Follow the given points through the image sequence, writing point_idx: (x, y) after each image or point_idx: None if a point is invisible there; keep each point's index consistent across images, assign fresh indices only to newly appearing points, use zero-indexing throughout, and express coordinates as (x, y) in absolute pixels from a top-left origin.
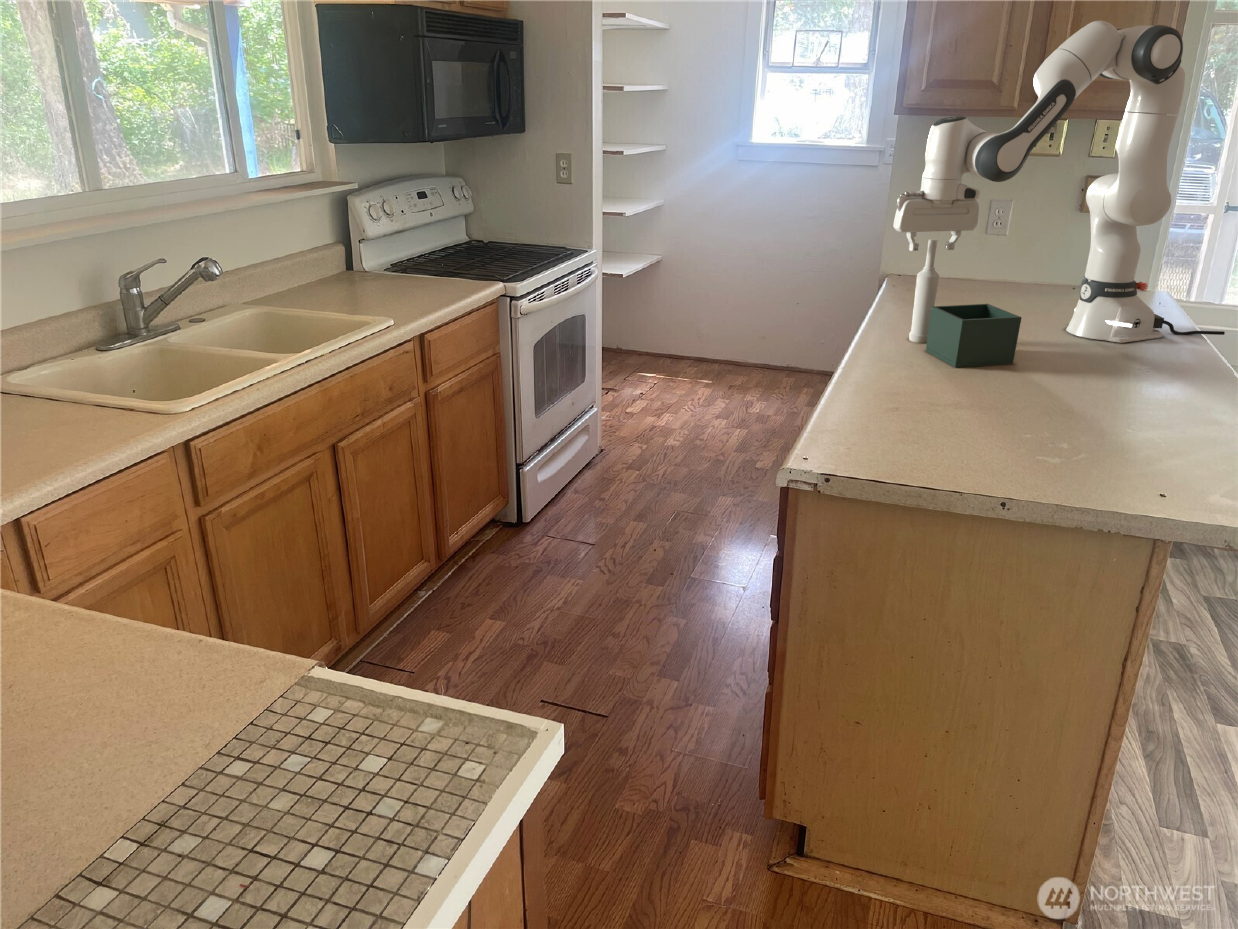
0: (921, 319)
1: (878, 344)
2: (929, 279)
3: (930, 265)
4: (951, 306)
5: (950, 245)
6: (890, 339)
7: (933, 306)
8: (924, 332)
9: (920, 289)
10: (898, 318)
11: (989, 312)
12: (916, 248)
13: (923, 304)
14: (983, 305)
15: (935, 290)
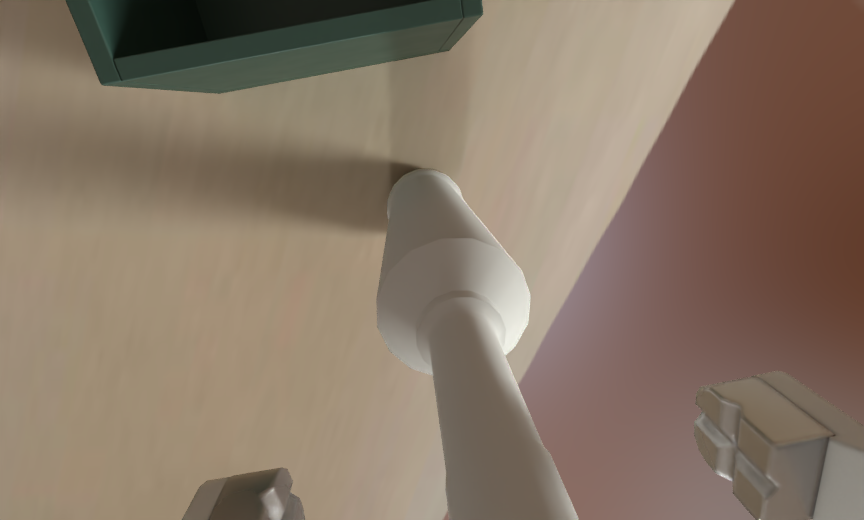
0: (447, 188)
1: (586, 153)
2: (468, 231)
3: (471, 320)
4: (357, 14)
5: (245, 512)
6: (520, 218)
7: (473, 11)
8: (423, 176)
9: (494, 237)
10: (407, 455)
11: (119, 16)
12: (747, 393)
13: (457, 201)
14: (137, 55)
15: (402, 229)
